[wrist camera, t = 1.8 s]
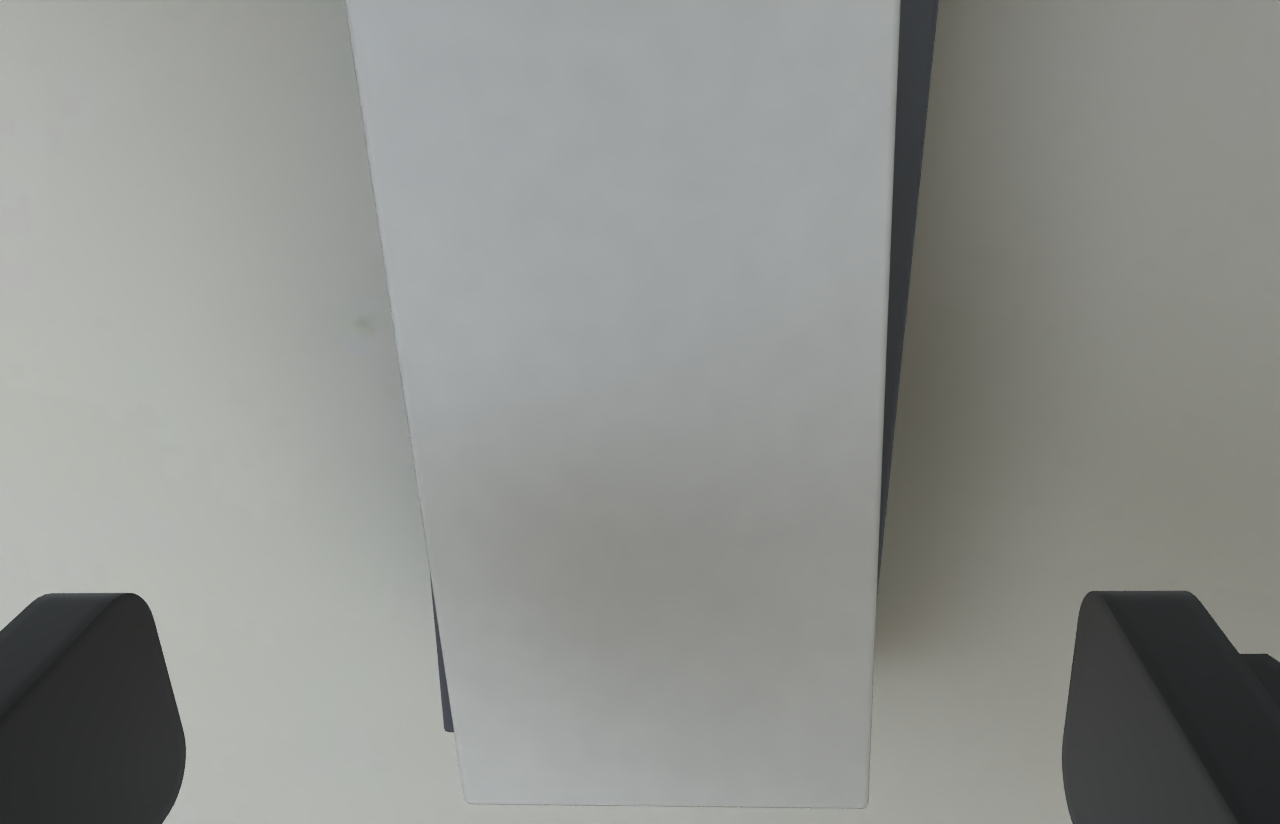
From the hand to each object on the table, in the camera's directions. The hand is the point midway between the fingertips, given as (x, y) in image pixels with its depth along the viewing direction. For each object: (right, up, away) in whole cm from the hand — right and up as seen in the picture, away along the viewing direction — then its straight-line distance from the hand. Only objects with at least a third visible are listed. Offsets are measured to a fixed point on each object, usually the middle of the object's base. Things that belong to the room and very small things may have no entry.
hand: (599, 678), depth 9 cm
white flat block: (+1, +3, +6) cm, 7 cm away
